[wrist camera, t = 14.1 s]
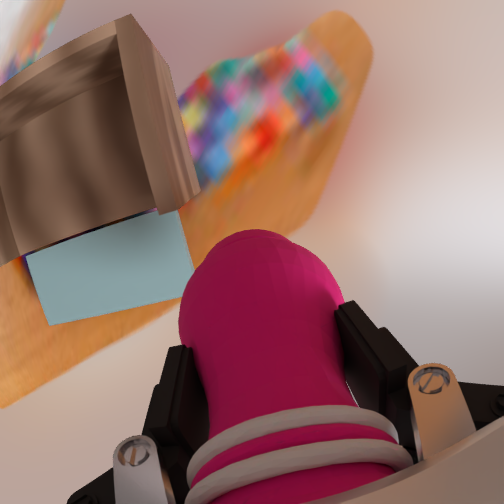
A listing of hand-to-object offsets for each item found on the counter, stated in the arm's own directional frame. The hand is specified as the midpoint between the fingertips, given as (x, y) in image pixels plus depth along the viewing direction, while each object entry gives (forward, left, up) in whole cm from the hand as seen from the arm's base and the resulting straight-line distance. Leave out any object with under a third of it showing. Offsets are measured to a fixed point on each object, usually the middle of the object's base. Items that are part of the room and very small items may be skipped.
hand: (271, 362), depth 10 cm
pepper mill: (0, 0, -8) cm, 8 cm away
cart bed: (-15, +12, -23) cm, 29 cm away
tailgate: (-15, +5, -18) cm, 23 cm away
